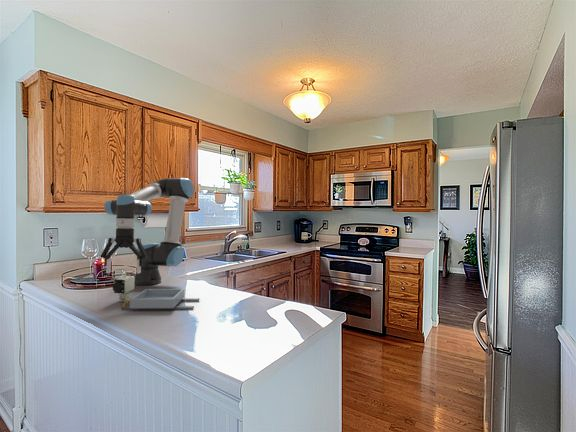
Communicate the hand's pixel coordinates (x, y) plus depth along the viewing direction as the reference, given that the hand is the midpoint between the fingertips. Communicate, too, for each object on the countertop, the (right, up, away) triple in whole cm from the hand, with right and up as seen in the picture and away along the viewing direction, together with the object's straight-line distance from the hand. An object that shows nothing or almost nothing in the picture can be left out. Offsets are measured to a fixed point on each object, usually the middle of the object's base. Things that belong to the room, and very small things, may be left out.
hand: (123, 273), depth 145 cm
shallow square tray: (+19, -12, -5) cm, 23 cm away
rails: (+20, -14, -5) cm, 25 cm away
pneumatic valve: (0, -13, 0) cm, 13 cm away
